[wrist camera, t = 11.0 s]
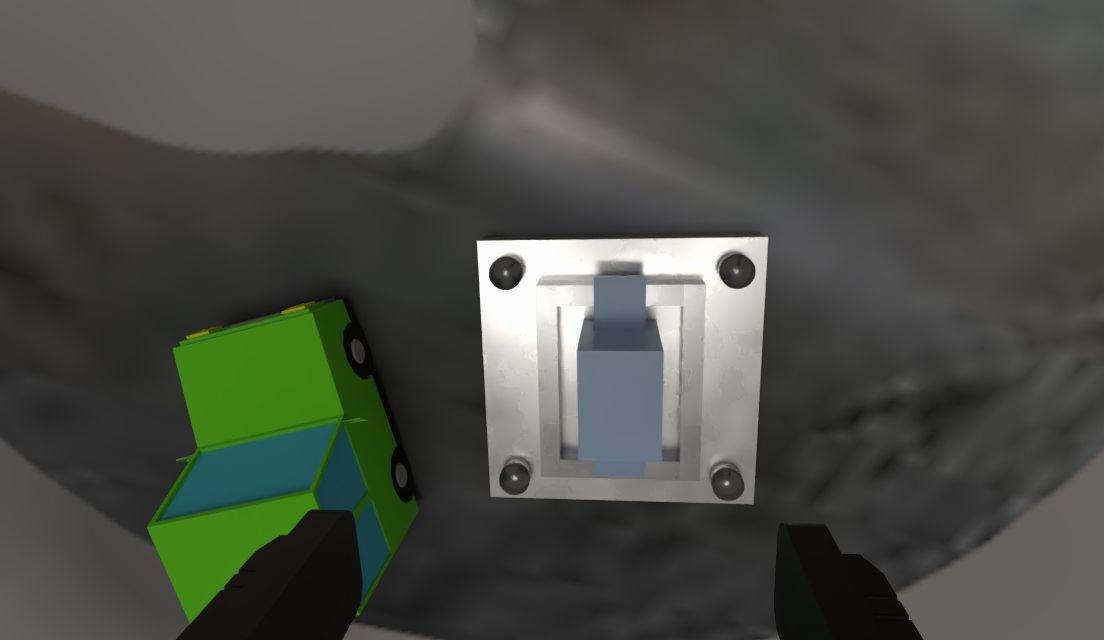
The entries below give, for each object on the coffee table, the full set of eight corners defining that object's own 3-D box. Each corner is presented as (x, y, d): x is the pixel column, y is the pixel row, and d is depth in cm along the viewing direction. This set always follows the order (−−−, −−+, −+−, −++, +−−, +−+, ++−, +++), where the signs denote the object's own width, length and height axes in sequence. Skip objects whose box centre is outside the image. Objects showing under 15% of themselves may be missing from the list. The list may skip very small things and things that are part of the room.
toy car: (369, 281, 35) (275, 327, 26) (441, 496, 38) (381, 611, 28) (205, 324, 37) (59, 383, 27) (286, 527, 40) (179, 646, 30)
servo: (582, 270, 32) (575, 292, 26) (656, 269, 31) (664, 292, 26) (585, 456, 34) (579, 511, 29) (654, 458, 34) (660, 514, 29)
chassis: (485, 236, 34) (471, 244, 31) (759, 232, 32) (775, 240, 29) (497, 479, 37) (485, 510, 34) (746, 485, 36) (758, 518, 33)
